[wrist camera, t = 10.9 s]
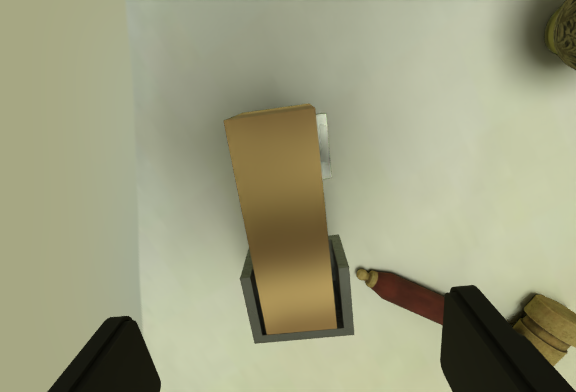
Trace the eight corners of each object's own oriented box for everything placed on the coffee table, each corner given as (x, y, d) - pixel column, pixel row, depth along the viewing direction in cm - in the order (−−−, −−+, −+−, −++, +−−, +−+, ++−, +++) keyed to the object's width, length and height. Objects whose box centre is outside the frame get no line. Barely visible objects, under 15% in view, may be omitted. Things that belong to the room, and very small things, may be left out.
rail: (242, 112, 17) (223, 120, 13) (309, 103, 17) (315, 108, 12) (272, 281, 21) (267, 334, 17) (327, 275, 21) (337, 328, 16)
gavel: (334, 328, 27) (391, 239, 24) (331, 297, 31) (379, 218, 28) (531, 413, 28) (610, 340, 25) (502, 371, 32) (565, 304, 29)
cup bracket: (258, 214, 26) (240, 278, 17) (329, 206, 26) (348, 267, 17) (267, 262, 28) (254, 343, 19) (334, 255, 27) (354, 334, 18)
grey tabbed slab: (243, 118, 23) (227, 127, 18) (318, 108, 23) (325, 113, 17) (252, 166, 25) (239, 189, 19) (322, 157, 24) (331, 177, 19)
